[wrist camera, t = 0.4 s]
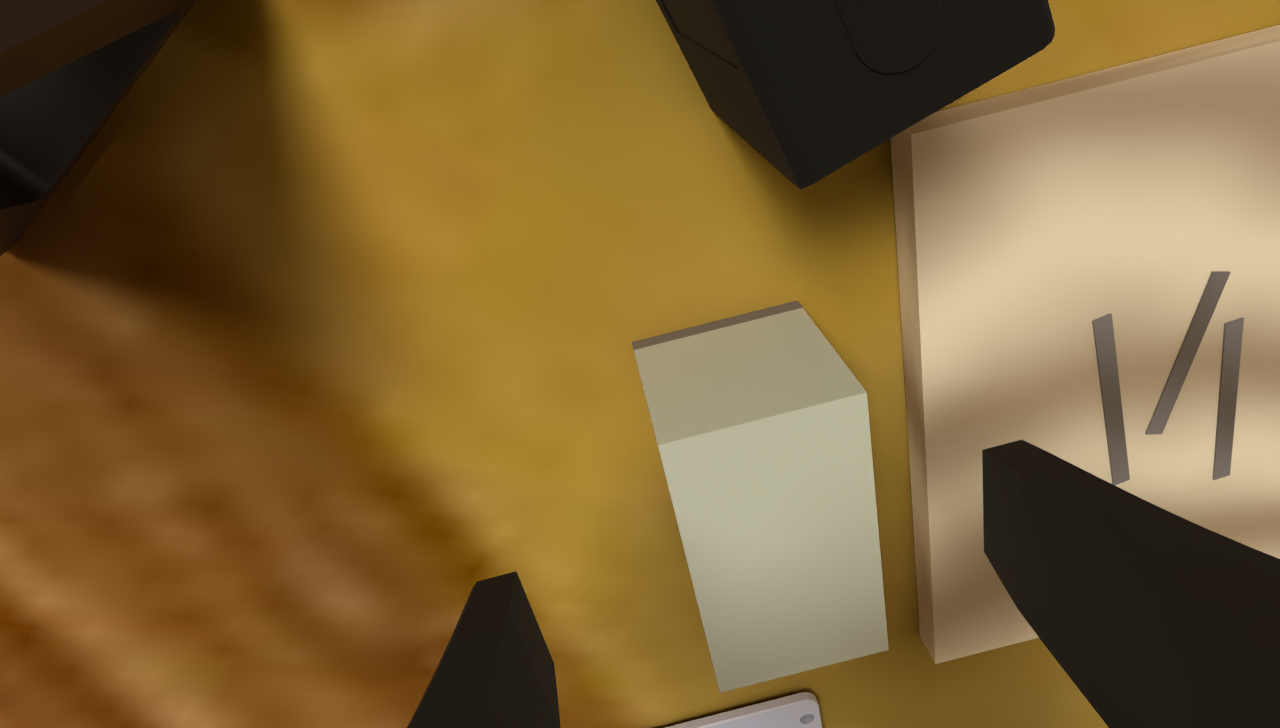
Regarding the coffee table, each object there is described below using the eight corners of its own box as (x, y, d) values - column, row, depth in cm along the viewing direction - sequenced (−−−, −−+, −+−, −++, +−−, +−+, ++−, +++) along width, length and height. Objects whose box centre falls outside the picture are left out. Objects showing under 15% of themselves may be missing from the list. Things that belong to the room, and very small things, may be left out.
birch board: (1305, 537, 27) (1338, 562, 26) (919, 636, 27) (936, 665, 26) (1455, -20, 19) (1514, -19, 17) (889, 124, 19) (912, 134, 17)
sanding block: (825, 524, 24) (889, 650, 20) (686, 559, 24) (720, 692, 20) (795, 298, 21) (866, 392, 16) (631, 339, 21) (657, 444, 16)
